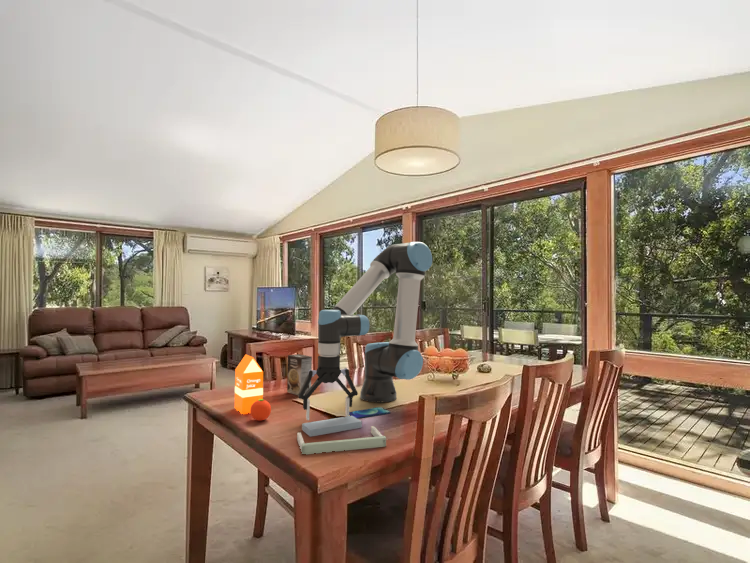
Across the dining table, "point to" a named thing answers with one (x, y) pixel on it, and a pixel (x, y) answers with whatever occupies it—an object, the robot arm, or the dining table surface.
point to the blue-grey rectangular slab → (331, 425)
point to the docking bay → (343, 443)
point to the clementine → (260, 410)
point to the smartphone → (369, 412)
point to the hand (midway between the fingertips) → (327, 417)
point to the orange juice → (248, 384)
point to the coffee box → (298, 372)
